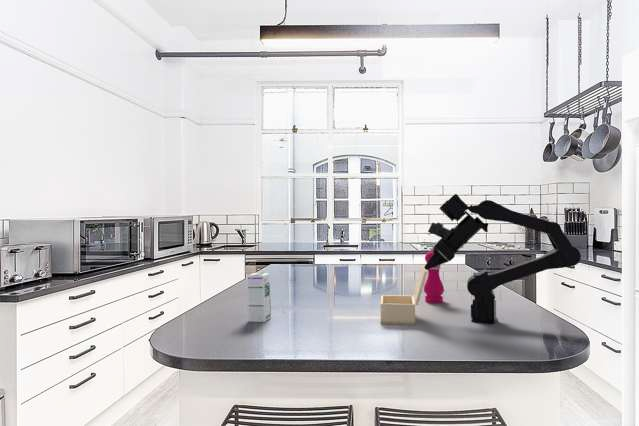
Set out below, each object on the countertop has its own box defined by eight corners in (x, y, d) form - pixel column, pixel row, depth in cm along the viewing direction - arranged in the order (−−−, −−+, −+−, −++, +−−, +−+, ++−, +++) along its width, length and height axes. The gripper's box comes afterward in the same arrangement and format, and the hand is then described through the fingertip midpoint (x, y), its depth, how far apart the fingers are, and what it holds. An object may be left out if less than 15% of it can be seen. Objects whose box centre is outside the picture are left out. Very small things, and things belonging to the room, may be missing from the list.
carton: (413, 314, 150) (412, 295, 149) (415, 324, 136) (414, 304, 136) (381, 313, 151) (381, 295, 151) (380, 324, 137) (380, 303, 137)
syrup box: (265, 322, 142) (264, 275, 142) (247, 321, 143) (246, 274, 143) (271, 318, 147) (270, 272, 147) (253, 317, 148) (252, 272, 148)
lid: (412, 295, 150) (415, 296, 150) (415, 304, 135) (418, 305, 135) (421, 265, 149) (424, 266, 149) (424, 271, 135) (427, 272, 135)
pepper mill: (442, 299, 173) (441, 246, 173) (445, 303, 166) (445, 247, 165) (422, 299, 173) (421, 246, 173) (425, 303, 166) (424, 247, 166)
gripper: (445, 212, 151) (411, 245, 155) (442, 214, 134) (404, 251, 137) (470, 237, 149) (435, 270, 153) (471, 241, 131) (431, 278, 135)
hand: (426, 266), depth 144 cm, fingers open, 8 cm apart
